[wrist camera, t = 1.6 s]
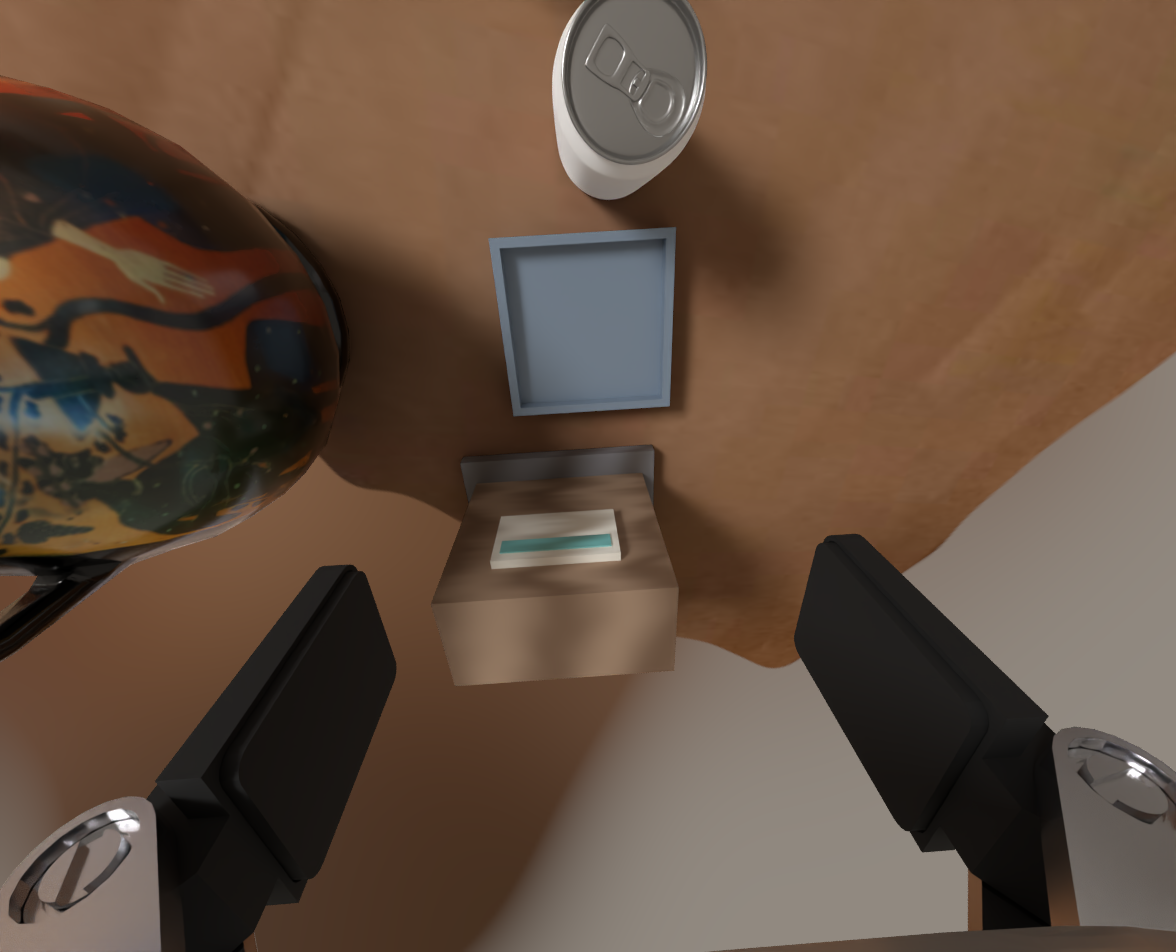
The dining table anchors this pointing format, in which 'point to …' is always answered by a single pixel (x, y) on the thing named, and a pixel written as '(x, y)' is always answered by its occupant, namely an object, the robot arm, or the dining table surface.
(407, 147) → the dining table surface
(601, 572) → the block
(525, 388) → the tray
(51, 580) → the amphora vase
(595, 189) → the can
